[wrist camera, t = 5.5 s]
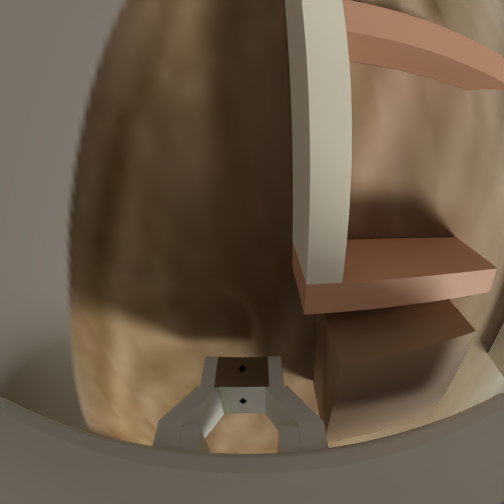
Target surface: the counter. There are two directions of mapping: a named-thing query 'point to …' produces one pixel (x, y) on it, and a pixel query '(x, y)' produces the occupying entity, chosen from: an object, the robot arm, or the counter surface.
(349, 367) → the block
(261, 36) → the counter surface
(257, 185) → the counter surface
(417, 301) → the box
